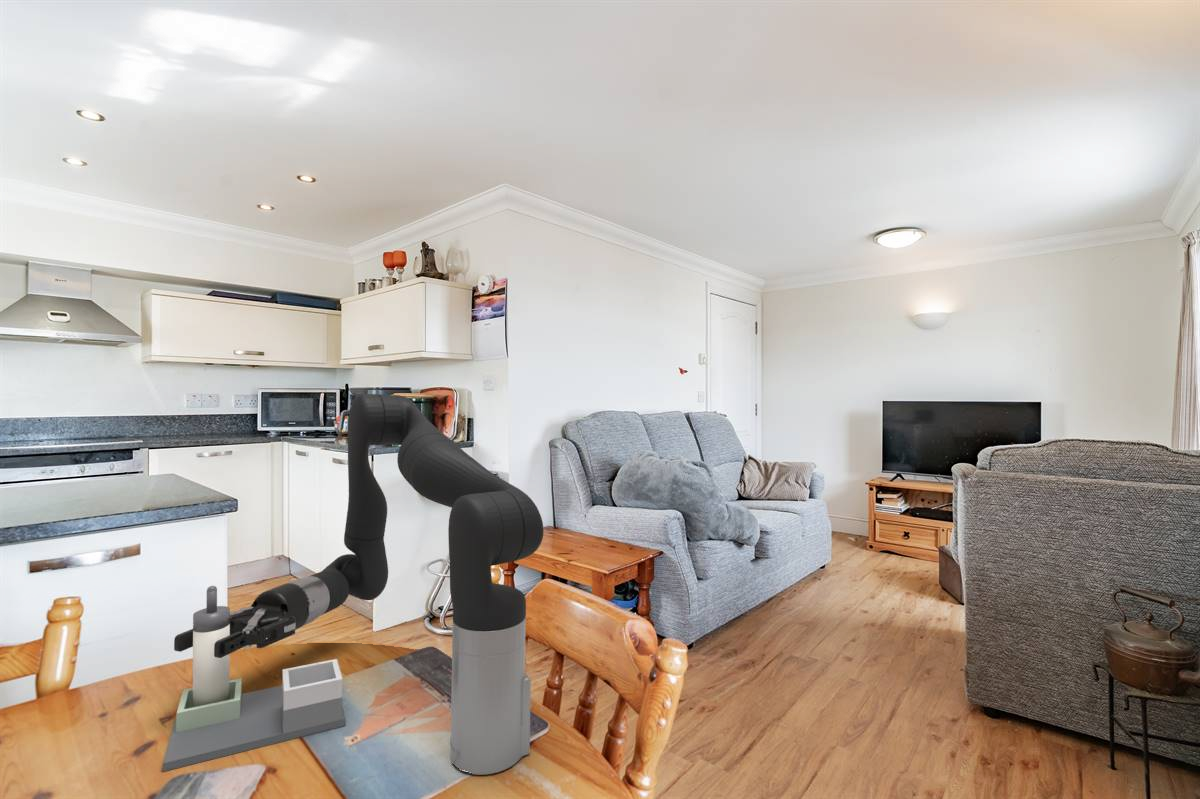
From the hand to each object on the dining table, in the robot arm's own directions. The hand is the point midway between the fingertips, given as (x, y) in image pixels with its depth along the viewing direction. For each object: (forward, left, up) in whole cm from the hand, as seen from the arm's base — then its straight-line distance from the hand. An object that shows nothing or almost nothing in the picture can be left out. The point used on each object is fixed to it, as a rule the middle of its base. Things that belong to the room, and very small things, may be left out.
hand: (196, 647), depth 76 cm
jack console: (-8, +2, -11) cm, 13 cm away
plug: (-2, -2, -10) cm, 10 cm away
